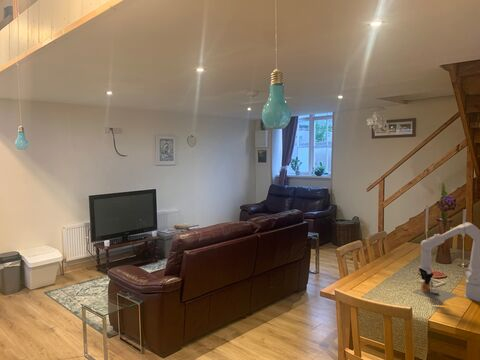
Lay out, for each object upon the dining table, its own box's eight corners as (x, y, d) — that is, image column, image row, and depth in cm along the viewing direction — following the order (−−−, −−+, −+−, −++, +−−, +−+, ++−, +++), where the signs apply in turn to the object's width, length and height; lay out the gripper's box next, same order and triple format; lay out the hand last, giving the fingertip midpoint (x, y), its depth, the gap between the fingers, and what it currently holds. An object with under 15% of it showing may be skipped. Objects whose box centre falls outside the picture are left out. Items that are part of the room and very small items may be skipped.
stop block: (428, 289, 224) (428, 282, 223) (430, 292, 220) (430, 284, 219) (421, 289, 225) (421, 281, 224) (422, 291, 221) (422, 283, 220)
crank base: (458, 296, 215) (458, 294, 215) (441, 303, 206) (441, 301, 205) (428, 287, 230) (428, 285, 230) (411, 293, 221) (411, 291, 221)
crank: (439, 294, 215) (439, 287, 215) (432, 294, 216) (432, 286, 216) (434, 288, 226) (434, 281, 225) (427, 287, 226) (427, 280, 226)
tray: (445, 285, 234) (445, 282, 234) (435, 288, 228) (435, 285, 228) (428, 280, 243) (428, 277, 243) (419, 283, 237) (419, 280, 237)
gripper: (416, 256, 229) (415, 277, 230) (421, 263, 215) (421, 285, 216) (428, 256, 227) (427, 277, 228) (435, 263, 213) (434, 286, 214)
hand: (425, 281), depth 222 cm, fingers open, 7 cm apart
